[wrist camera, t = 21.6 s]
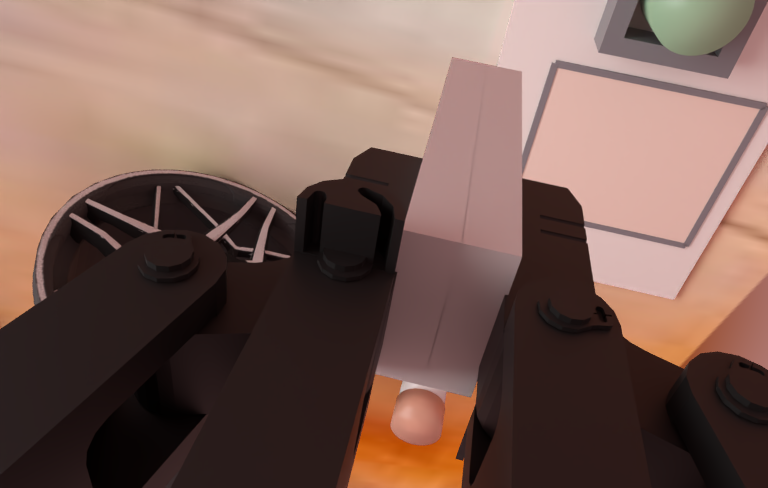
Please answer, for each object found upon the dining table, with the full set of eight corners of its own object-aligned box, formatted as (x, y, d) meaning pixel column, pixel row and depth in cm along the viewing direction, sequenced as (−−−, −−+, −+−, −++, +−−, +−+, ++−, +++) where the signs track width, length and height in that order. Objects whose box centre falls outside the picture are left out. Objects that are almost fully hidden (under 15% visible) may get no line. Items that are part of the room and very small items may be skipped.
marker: (425, 286, 47) (397, 406, 38) (466, 299, 47) (447, 422, 38) (415, 315, 50) (385, 435, 40) (453, 327, 49) (433, 450, 40)
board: (545, -118, 31) (545, -117, 30) (880, -56, 29) (887, -53, 29) (449, 244, 45) (448, 249, 45) (672, 295, 44) (674, 301, 43)
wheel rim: (379, 259, 47) (307, 484, 31) (331, 324, 53) (249, 545, 37) (149, 131, 44) (-60, 307, 28) (123, 214, 50) (-65, 402, 34)
